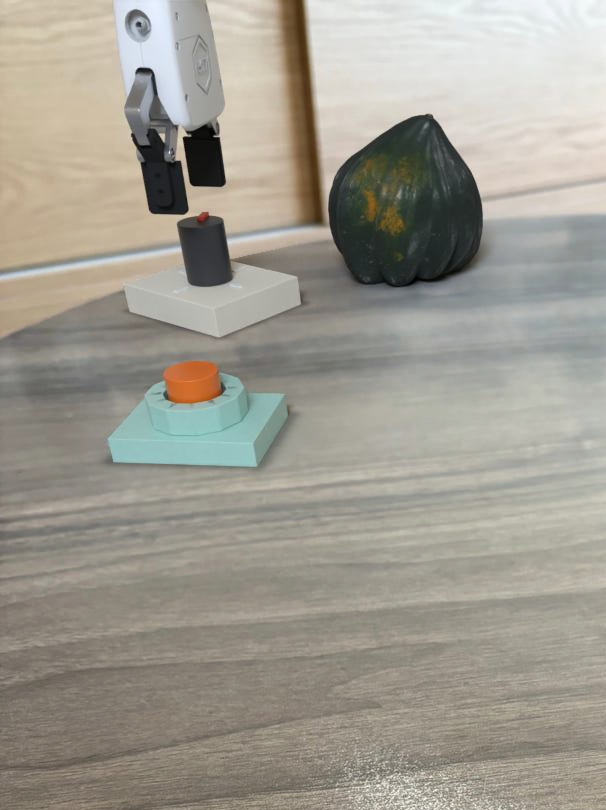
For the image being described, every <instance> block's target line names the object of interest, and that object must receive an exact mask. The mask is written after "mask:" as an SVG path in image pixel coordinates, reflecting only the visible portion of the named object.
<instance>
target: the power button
mask: <svg viewBox="0 0 606 810" xmlns="http://www.w3.org/2000/svg"><path fill="white" fill-rule="evenodd" d="M219 373H220V372H219V366H218V365H216V364H215V363H213V362H210V361H206V360H191V361H184V362H183V361H182V362H180V363H176V364H174V365H171V366H169V367H168V368H166V369H165V370H164V371H163V375H162V376H163V381H165V385H166V390H167V394H168V399H169V400H170V401H171V402H174V403H182V404H193V403H199V402H204V401H209V400H212V399H214V398H216V397H218V396H221V394H222V388H221V382H220V377H219Z"/></svg>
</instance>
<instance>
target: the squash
mask: <svg viewBox="0 0 606 810" xmlns="http://www.w3.org/2000/svg"><path fill="white" fill-rule="evenodd" d="M327 200H328V201H327V212H328V213H327V214H328V225H329V229H330V233H331V237H332V240H333V242H334V245H335V247H336V248H337V250H338V252H339V253H340V254H341V255H342V257H343V260H344V262H345V266H346V267H347V269H348V270H349V272H350V273H351V275H353V277H355V278H356V279H357V280H358V281H359V282H361V283H363V284H365V285H379V284H385V283H388V284H390V285H392V286H394V287H402V286H405V285H408V284H409V283H411V282H412V281H413V280H414V279H415V278H416V277H417V278H419V279H421V280H430V279H435V278H437V277H439V276H440V275H445V274H449V273H455V272H458V271H460V270H462V269H464V268H465V267H466V266H468V265H469V264H470V263H471V261H472V260H474V258H475V256H476V255H477V253H478V251H479V249H480V245H481V241H482V235H483V230H484V229H483V228H484V211H483V209H484V208H483V202H482V198H481V194H480V191H479V187H478V183H477V180H476V178H475V177H474V174H473V172H472V171H471V168H469V166H468V164H467V163H466V161H465V160H464V159H463V157H462V156H461V154H460V153H459V152H458V150H457V149H456V147H455V146H454V145H453V144H452V142H451V140H450V139H449V137H448V136H447V134H446V132H445V131H444V129H443V127H442V125H441V124H440V123H439V122H438V121H437V120H436V118H434V115H433V114H431V113H425V114H417V115H412V116H410V117H408V118H406V119H404V120H402V121H400V122H398V123H396V124H394V125H393V126H391V127H390V128H389V129H387V130H386V131H384V132H382V133H381V134H378V136H376V137H375V138H374V139H373V140H371V141H370V142H369V143H367V144H366V145H365V146H364V147H363V148H361V149H359V150H358V151H356V152H355V153H354V154H352V155H350V157H348V158H347V159H346V160H345V161H344V163H343V164H342V165H341V166H339V168H338V170H337V171H336V173H335V175H334V177H333V180H332V184H331V186H330V190H329V194H328V199H327Z"/></svg>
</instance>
